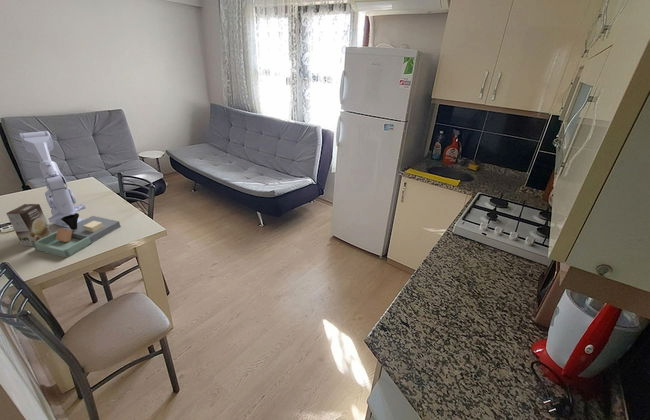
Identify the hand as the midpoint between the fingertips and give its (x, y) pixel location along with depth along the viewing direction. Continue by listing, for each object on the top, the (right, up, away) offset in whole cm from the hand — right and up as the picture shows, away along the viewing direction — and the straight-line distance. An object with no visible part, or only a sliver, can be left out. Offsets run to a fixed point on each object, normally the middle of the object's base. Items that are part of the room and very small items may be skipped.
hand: (74, 228), depth 133 cm
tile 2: (+7, 0, +3) cm, 8 cm away
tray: (+1, -7, -6) cm, 9 cm away
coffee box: (-14, -5, -3) cm, 15 cm away
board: (+4, -1, +6) cm, 7 cm away
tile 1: (-1, -2, -3) cm, 4 cm away
